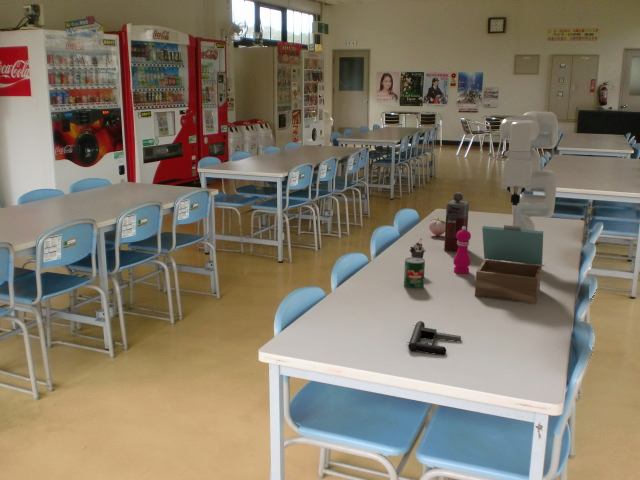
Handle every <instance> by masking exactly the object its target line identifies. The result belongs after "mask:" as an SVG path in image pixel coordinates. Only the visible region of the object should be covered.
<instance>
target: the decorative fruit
mask: <svg viewBox="0 0 640 480" xmlns="http://www.w3.org/2000/svg"><path fill="white" fill-rule="evenodd" d="M428 226H429V227H428V228H429V231H430V232H431V233H432V234H434V235H435V236H437V237H439V236H442V235H445V226H446V220H445V219H440V217H438V219H437V218H432V219H431V220H430V223H429V225H428Z"/></svg>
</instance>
